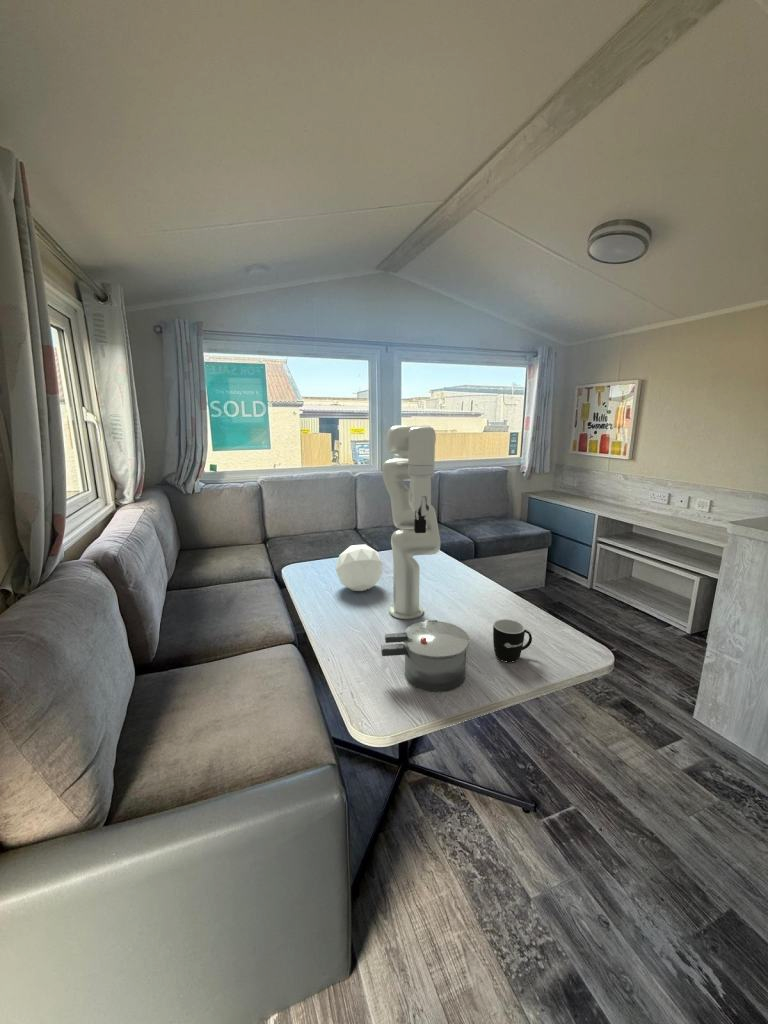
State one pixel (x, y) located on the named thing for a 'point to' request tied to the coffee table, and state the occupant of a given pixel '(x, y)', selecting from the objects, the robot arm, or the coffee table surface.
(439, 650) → the lid
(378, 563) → the geometric polyhedron
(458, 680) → the pot
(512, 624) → the mug
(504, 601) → the coffee table surface
